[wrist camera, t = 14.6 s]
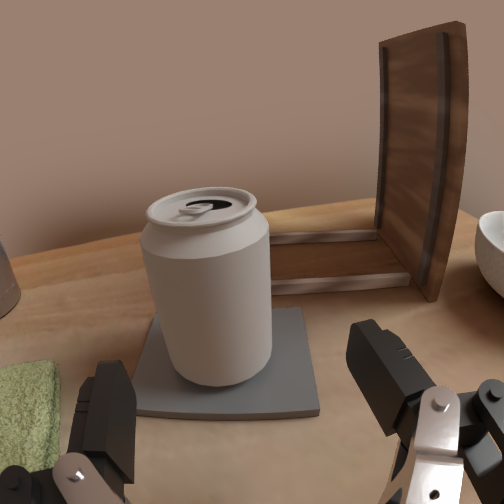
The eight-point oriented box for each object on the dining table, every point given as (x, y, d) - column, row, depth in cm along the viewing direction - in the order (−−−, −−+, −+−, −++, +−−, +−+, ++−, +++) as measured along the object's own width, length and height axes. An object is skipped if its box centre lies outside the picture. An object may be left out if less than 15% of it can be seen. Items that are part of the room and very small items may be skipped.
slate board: (126, 414, 19) (122, 407, 19) (158, 317, 29) (156, 311, 29) (318, 415, 19) (320, 409, 18) (300, 313, 29) (301, 306, 28)
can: (282, 331, 25) (281, 182, 20) (255, 405, 19) (241, 231, 14) (197, 317, 28) (175, 180, 22) (154, 378, 21) (106, 222, 16)
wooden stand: (255, 315, 29) (237, -5, 17) (254, 232, 45) (243, 37, 33) (436, 300, 28) (465, 23, 16) (380, 227, 44) (385, 43, 32)
